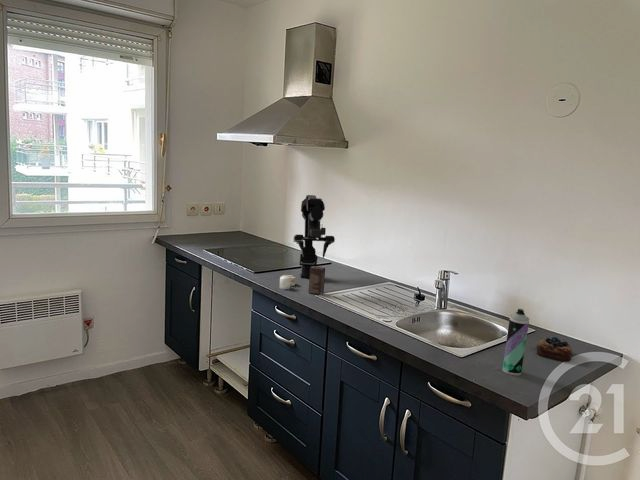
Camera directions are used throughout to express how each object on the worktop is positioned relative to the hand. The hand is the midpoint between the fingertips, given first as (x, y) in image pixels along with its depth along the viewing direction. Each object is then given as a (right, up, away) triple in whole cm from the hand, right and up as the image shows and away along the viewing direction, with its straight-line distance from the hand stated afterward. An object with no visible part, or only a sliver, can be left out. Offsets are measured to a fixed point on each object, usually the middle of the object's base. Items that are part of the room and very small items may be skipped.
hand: (313, 257), depth 224 cm
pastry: (+83, -32, -58) cm, 106 cm away
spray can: (+62, -33, -75) cm, 103 cm away
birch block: (-12, -13, +8) cm, 20 cm away
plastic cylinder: (-13, -14, +1) cm, 20 cm away
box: (+1, -16, -4) cm, 17 cm away
